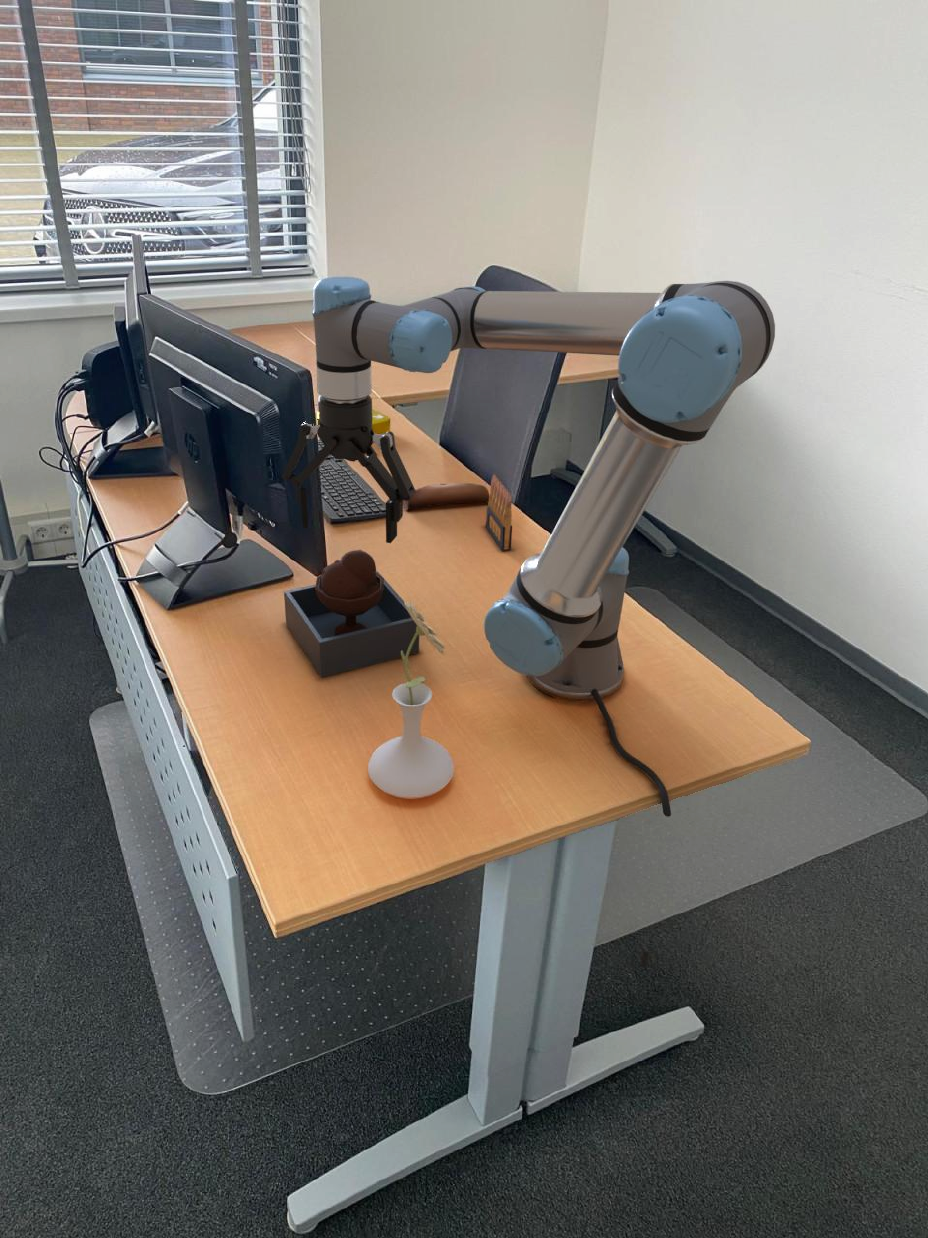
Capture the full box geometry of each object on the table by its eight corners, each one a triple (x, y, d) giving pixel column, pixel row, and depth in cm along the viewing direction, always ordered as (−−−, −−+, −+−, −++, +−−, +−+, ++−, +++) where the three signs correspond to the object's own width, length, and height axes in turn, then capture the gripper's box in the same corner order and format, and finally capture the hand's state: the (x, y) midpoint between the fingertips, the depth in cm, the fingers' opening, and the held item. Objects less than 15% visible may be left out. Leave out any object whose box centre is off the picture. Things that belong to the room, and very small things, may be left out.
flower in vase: (456, 806, 117) (465, 644, 104) (367, 808, 116) (364, 645, 103) (450, 740, 128) (457, 587, 115) (368, 741, 127) (366, 587, 114)
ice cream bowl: (359, 608, 155) (357, 529, 147) (397, 638, 147) (398, 556, 139) (305, 628, 149) (300, 547, 141) (342, 660, 142) (339, 576, 134)
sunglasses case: (477, 486, 201) (483, 468, 195) (485, 513, 198) (491, 495, 192) (398, 494, 196) (402, 475, 190) (404, 521, 193) (409, 503, 187)
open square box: (419, 652, 146) (419, 618, 142) (321, 678, 139) (319, 642, 136) (377, 603, 158) (377, 571, 155) (286, 624, 151) (283, 591, 148)
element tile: (309, 429, 227) (308, 411, 224) (357, 417, 236) (357, 399, 233) (345, 447, 218) (344, 428, 215) (393, 434, 227) (393, 416, 224)
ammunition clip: (511, 550, 177) (515, 494, 171) (502, 551, 177) (506, 494, 170) (493, 526, 186) (497, 471, 179) (485, 527, 185) (488, 472, 179)
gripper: (438, 398, 127) (435, 534, 138) (276, 376, 133) (286, 509, 144) (420, 415, 121) (418, 556, 132) (251, 391, 127) (263, 528, 138)
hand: (349, 532), depth 138 cm, fingers open, 13 cm apart
